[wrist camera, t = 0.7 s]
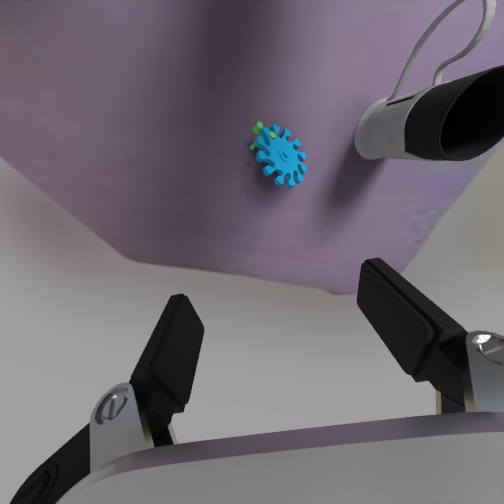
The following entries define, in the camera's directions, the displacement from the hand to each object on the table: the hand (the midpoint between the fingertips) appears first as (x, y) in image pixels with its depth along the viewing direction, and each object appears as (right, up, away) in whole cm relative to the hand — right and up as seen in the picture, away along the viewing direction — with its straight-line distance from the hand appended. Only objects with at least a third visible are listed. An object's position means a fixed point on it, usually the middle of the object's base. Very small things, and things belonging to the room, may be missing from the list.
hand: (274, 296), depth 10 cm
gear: (+3, +20, +22) cm, 30 cm away
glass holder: (+20, +25, +19) cm, 37 cm away
